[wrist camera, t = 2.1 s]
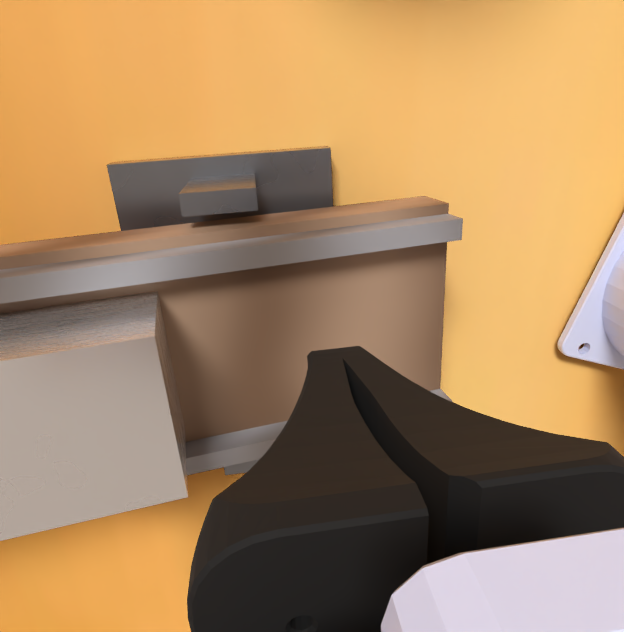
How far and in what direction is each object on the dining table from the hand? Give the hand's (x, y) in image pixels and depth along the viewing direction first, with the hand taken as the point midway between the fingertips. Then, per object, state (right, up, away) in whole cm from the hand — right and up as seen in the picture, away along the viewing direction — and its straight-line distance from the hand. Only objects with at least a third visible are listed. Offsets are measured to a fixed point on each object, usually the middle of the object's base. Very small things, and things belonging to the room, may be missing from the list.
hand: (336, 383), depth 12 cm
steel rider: (-7, 0, +1) cm, 7 cm away
